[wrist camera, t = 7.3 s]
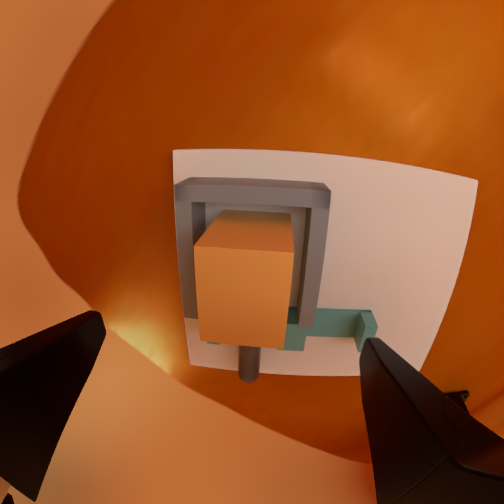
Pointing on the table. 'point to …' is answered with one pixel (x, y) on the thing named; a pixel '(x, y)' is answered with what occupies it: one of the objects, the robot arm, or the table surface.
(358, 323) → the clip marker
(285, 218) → the block
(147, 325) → the table surface
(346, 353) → the board
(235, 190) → the end holder
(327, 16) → the table surface
